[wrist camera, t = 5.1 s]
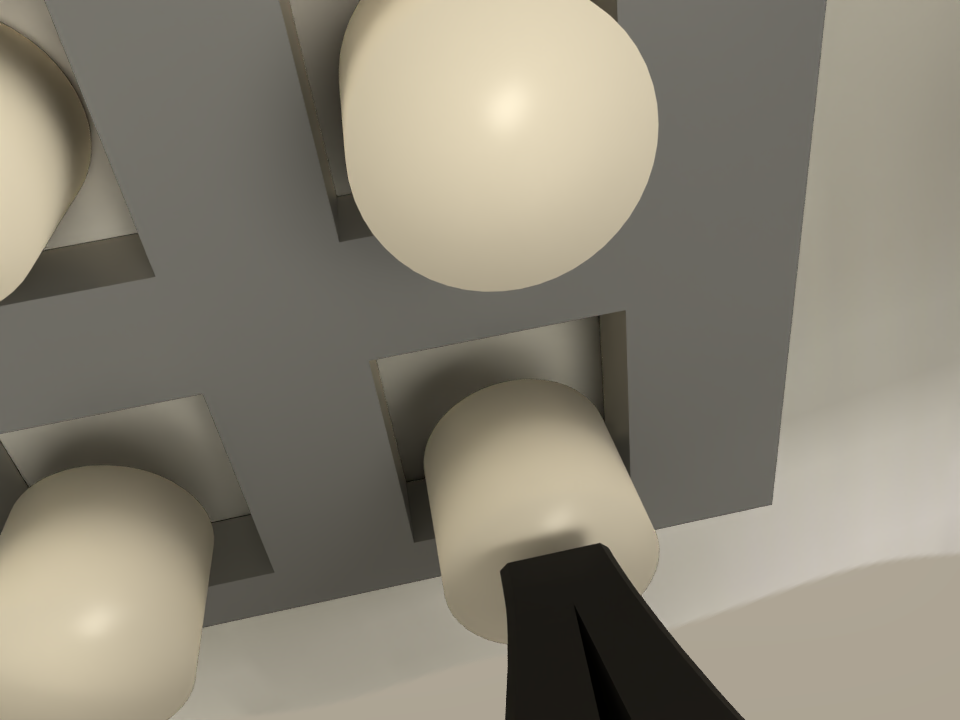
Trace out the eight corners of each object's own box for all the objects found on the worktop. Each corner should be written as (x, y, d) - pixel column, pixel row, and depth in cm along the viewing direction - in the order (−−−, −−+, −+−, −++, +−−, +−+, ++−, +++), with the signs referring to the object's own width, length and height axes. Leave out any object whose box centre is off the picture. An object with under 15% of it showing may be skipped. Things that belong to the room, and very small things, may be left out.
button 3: (603, 361, 13) (659, 471, 10) (610, 502, 14) (660, 619, 12) (408, 400, 12) (427, 519, 10) (439, 539, 14) (460, 663, 12)
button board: (788, -280, 10) (858, -292, 9) (736, 450, 17) (772, 504, 16) (-590, -68, 9) (-742, -47, 8) (-55, 617, 16) (-88, 690, 15)
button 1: (177, 447, 12) (150, 577, 10) (237, 581, 14) (224, 716, 12) (-31, 488, 12) (-103, 630, 10) (56, 620, 14) (10, 764, 12)
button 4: (580, -81, 9) (658, -47, 7) (593, 175, 11) (659, 261, 9) (310, -37, 9) (308, 12, 7) (367, 217, 11) (379, 316, 9)
